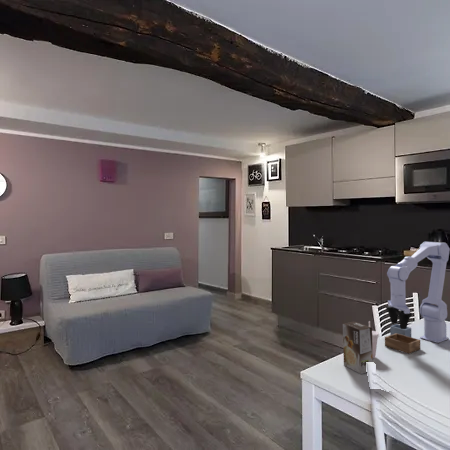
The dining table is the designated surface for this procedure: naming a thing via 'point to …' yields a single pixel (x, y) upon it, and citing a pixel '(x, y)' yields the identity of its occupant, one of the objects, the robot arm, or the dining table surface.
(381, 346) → the dining table surface
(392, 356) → the dining table surface
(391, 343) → the walnut crate
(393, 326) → the slate crate
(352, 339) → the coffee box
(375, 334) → the smoothie
